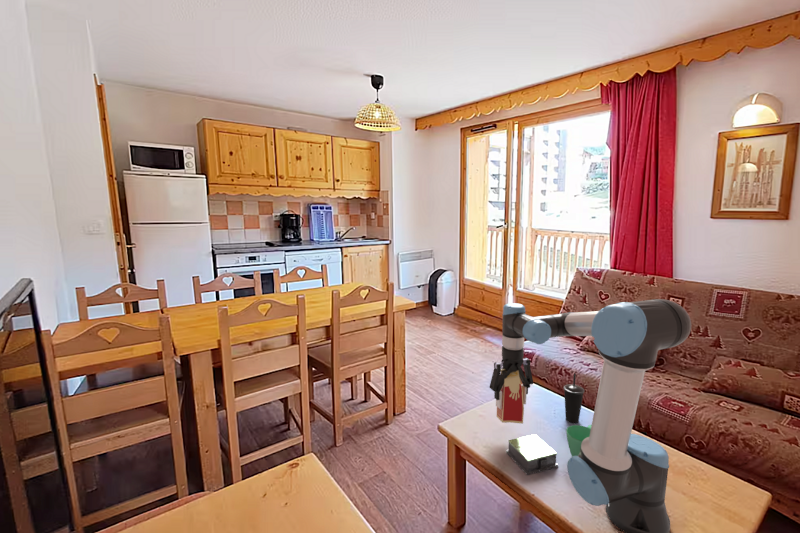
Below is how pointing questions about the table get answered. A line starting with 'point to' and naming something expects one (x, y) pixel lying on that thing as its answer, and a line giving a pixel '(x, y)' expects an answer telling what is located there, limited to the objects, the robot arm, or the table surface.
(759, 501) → the table surface
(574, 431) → the mug
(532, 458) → the stand
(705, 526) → the table surface
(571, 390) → the drinking cup
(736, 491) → the table surface
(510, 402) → the milk carton
